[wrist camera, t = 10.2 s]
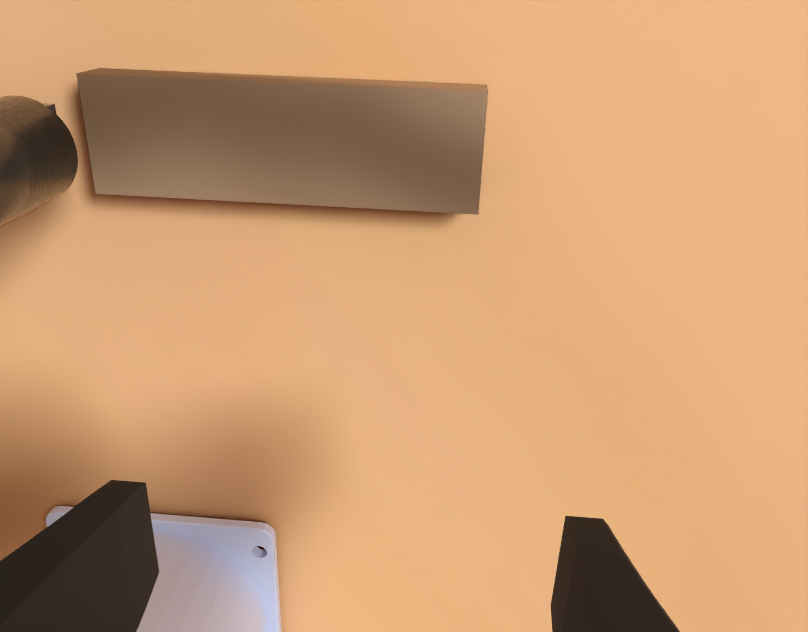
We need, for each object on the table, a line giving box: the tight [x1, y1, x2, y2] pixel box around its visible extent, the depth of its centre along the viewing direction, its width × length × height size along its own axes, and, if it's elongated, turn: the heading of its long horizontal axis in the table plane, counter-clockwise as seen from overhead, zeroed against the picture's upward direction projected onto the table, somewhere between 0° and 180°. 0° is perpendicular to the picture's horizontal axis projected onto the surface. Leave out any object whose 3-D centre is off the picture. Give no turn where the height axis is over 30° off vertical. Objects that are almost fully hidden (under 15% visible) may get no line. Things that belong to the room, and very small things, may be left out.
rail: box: [77, 68, 488, 214], centre depth 18 cm, size 3×10×1 cm, turn 88°
